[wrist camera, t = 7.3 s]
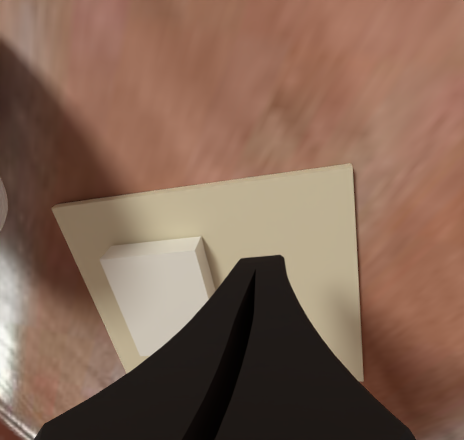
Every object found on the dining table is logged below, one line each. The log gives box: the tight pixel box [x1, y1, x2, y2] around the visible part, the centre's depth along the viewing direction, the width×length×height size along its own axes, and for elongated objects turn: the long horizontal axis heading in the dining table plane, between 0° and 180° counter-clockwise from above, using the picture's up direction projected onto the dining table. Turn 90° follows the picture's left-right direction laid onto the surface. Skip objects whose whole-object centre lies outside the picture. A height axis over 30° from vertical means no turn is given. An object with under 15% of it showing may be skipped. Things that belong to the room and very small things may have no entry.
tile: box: [100, 236, 216, 356], centre depth 23 cm, size 2×8×6 cm
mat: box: [51, 163, 364, 381], centre depth 24 cm, size 18×16×1 cm
